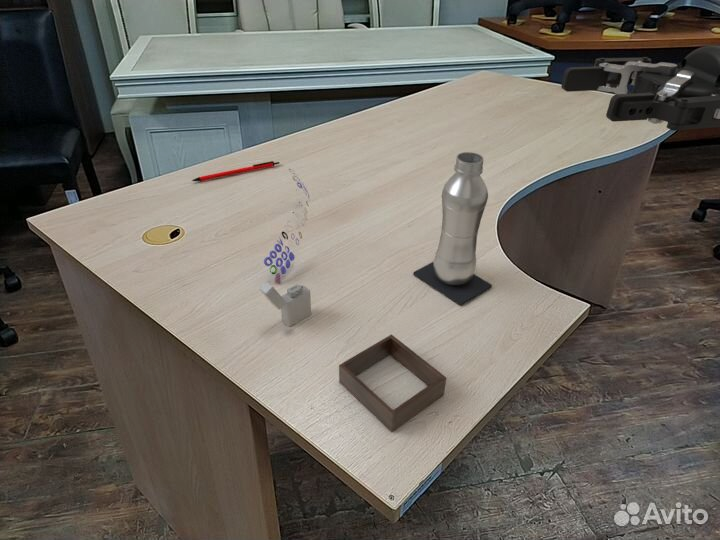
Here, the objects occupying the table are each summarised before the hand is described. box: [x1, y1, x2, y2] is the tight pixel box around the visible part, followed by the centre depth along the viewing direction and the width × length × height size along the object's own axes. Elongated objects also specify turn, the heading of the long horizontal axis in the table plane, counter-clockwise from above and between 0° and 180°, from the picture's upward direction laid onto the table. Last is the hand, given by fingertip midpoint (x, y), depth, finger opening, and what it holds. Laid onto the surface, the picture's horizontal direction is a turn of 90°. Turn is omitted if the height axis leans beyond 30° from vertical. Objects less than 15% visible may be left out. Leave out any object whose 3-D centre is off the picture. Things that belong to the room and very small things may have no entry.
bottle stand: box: [338, 334, 447, 433], centre depth 64 cm, size 10×9×3 cm
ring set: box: [263, 168, 310, 284], centre depth 88 cm, size 25×12×12 cm, turn 169°
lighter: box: [258, 281, 312, 328], centre depth 72 cm, size 7×2×8 cm, turn 133°
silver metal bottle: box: [433, 151, 489, 285], centre depth 76 cm, size 6×7×20 cm
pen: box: [191, 160, 280, 182], centre depth 111 cm, size 1×19×1 cm, turn 119°
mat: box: [412, 261, 493, 307], centre depth 82 cm, size 10×7×1 cm
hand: (586, 93), depth 50 cm, fingers open, 8 cm apart
